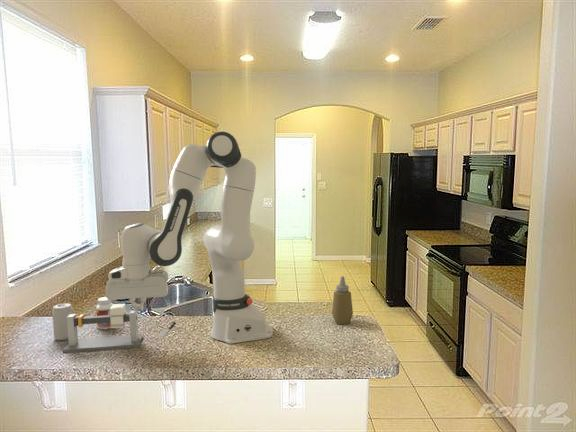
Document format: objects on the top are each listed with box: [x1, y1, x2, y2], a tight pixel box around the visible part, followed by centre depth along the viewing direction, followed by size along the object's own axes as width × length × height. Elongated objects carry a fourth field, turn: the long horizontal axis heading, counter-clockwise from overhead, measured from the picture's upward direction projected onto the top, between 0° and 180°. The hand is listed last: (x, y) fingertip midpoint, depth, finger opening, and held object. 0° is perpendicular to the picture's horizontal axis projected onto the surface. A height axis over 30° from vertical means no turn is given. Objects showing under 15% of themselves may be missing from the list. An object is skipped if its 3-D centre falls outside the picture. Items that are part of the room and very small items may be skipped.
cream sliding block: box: [110, 303, 127, 329], centre depth 149 cm, size 4×5×7 cm
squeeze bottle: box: [331, 275, 354, 325], centre depth 167 cm, size 8×8×18 cm
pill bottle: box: [95, 296, 114, 330], centre depth 166 cm, size 6×6×11 cm
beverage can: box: [51, 302, 74, 341], centre depth 155 cm, size 6×6×12 cm
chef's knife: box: [157, 321, 176, 341], centre depth 160 cm, size 19×1×3 cm
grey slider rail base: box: [62, 309, 144, 353], centre depth 149 cm, size 24×9×11 cm, turn 99°
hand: (138, 310), depth 150 cm, fingers closed
